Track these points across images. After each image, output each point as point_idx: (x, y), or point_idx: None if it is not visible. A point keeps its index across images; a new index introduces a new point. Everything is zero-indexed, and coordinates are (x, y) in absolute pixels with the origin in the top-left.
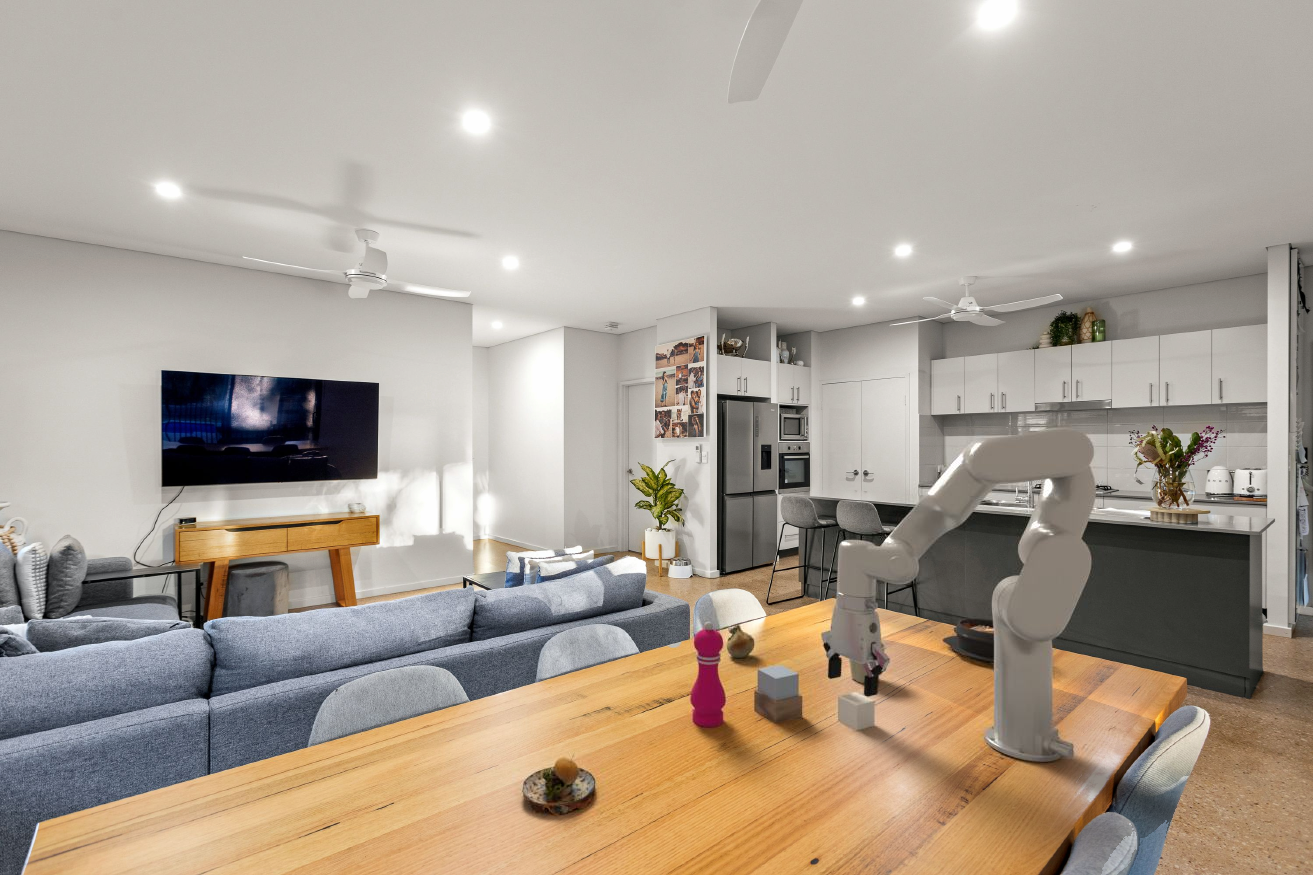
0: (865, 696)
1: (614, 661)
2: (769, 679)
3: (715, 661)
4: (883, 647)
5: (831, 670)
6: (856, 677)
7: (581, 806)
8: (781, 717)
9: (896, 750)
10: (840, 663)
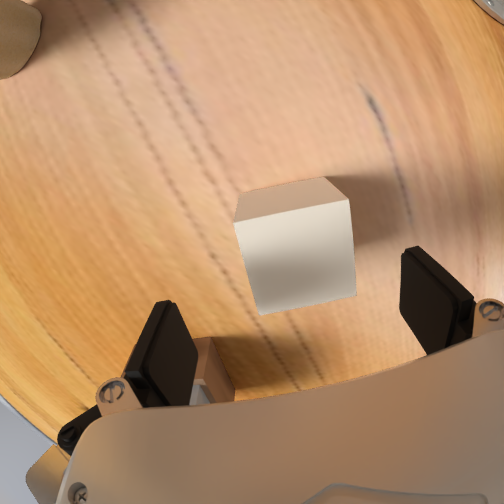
0: (293, 209)
1: (28, 419)
2: None
3: None
4: None
5: (192, 380)
6: (12, 70)
7: None
8: (229, 387)
9: (451, 223)
10: (159, 356)
